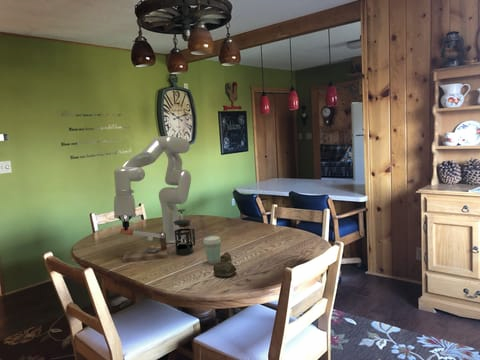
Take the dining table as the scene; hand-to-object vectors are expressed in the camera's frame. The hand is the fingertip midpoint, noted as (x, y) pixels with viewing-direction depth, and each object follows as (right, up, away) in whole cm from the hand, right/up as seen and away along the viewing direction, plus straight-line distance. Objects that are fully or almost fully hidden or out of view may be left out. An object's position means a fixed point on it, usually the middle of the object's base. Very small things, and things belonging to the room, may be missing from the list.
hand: (126, 228), depth 191 cm
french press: (+29, -14, +7) cm, 33 cm away
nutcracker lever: (+8, -6, +2) cm, 10 cm away
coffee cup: (+45, -15, -10) cm, 49 cm away
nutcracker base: (+9, -15, +4) cm, 18 cm away
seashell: (+50, -17, -28) cm, 60 cm away
